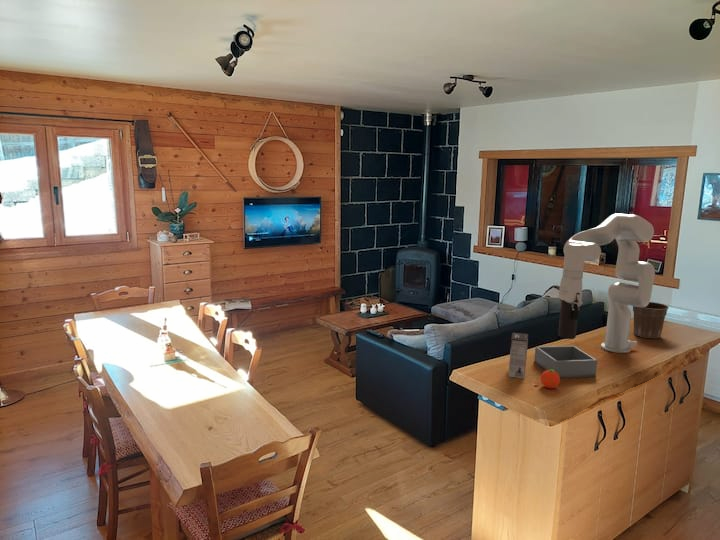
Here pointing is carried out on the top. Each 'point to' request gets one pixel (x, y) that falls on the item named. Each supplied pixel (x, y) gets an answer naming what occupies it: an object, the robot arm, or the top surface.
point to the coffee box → (518, 355)
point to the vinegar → (566, 322)
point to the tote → (566, 361)
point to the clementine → (550, 378)
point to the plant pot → (649, 320)
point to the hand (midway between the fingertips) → (568, 316)
